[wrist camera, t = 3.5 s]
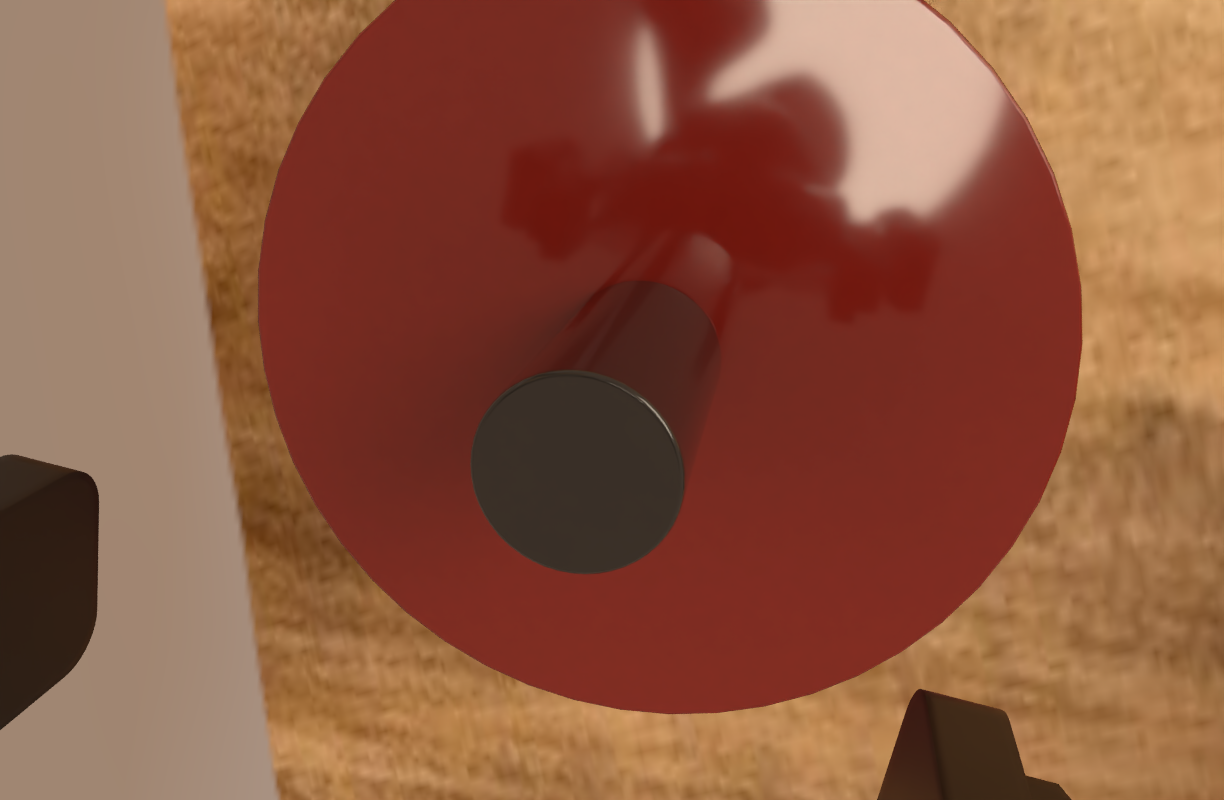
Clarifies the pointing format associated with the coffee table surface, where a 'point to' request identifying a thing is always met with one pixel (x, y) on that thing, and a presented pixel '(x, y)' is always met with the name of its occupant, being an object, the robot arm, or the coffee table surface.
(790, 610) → the lid
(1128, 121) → the coffee table surface
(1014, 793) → the robot arm
